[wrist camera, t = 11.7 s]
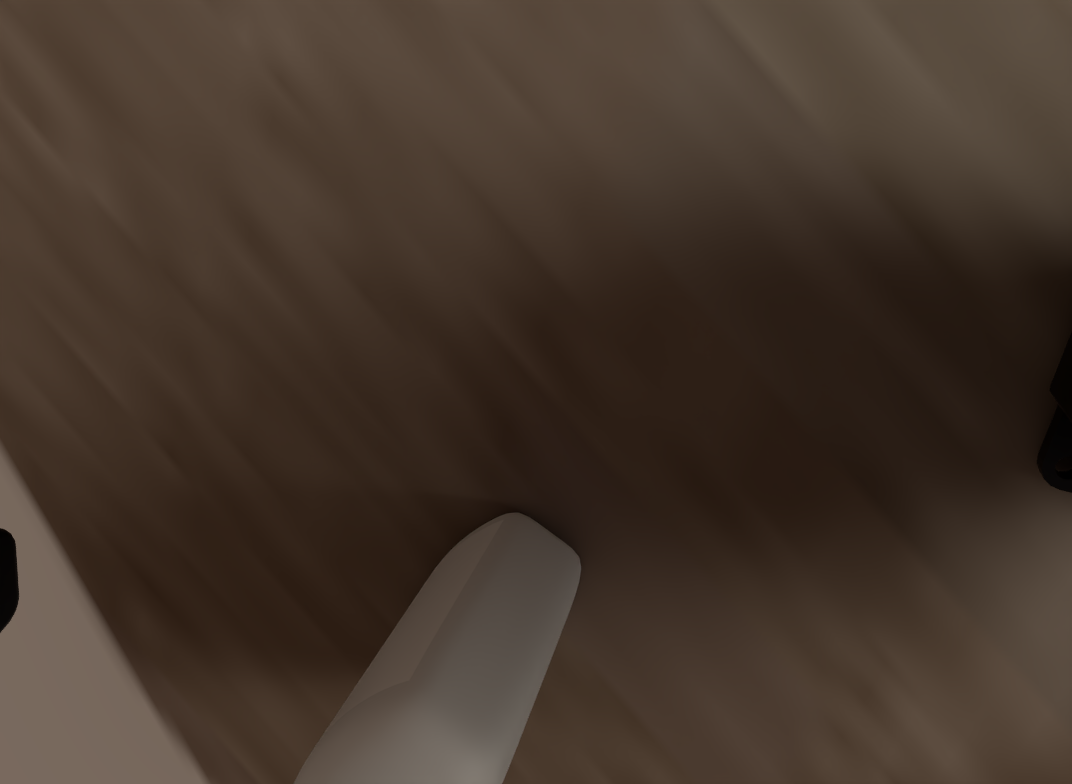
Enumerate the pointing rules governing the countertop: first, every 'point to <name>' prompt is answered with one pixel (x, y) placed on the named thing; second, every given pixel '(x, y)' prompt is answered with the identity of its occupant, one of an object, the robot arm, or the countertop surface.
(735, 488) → the countertop surface
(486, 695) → the eye dropper bottle
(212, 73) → the countertop surface
